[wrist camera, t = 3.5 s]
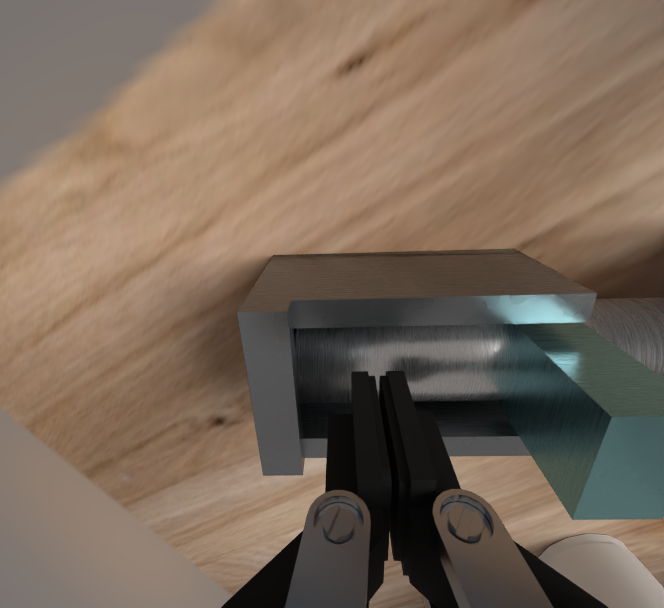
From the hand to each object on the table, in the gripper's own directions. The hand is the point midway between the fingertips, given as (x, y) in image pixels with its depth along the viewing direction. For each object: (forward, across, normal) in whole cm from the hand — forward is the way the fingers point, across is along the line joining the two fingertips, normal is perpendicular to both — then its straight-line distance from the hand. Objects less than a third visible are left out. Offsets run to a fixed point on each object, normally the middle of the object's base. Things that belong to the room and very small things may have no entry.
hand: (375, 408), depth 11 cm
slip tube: (+5, -5, 0) cm, 7 cm away
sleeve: (+6, -1, 0) cm, 7 cm away
